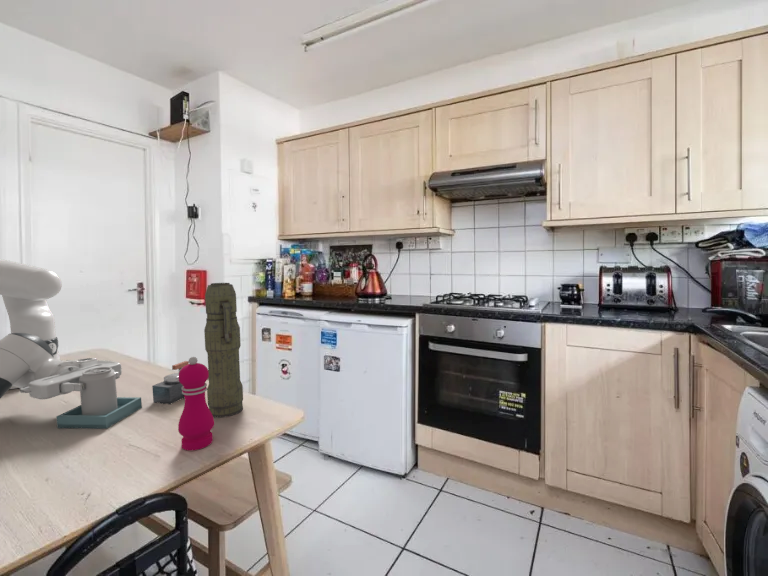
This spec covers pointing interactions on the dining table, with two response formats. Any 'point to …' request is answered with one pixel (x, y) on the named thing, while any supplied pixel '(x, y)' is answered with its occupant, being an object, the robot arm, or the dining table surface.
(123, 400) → the tray
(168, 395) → the crank housing
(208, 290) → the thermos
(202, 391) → the pepper mill
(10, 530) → the dining table surface
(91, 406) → the can
